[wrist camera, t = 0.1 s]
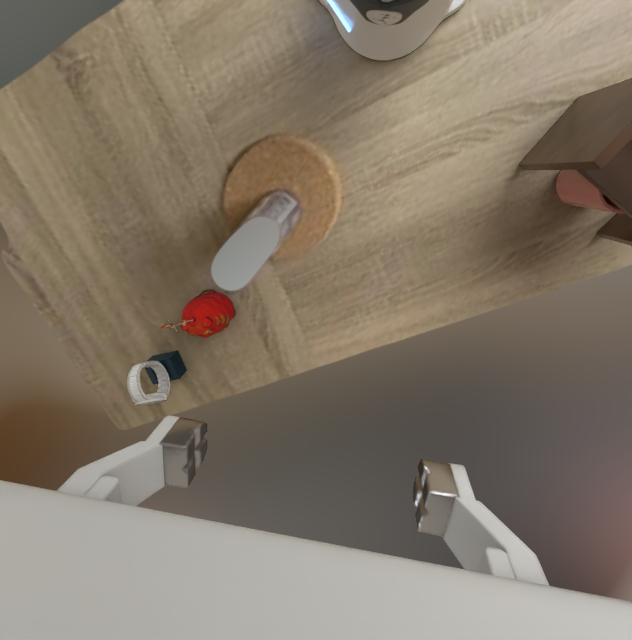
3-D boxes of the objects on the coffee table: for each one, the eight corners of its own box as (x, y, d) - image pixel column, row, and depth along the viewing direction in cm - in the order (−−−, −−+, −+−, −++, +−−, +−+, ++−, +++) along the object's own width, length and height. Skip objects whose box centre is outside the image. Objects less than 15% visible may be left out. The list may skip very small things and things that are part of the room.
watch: (165, 384, 73) (133, 419, 63) (148, 347, 71) (111, 377, 60) (191, 379, 72) (162, 413, 62) (174, 341, 69) (141, 371, 59)
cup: (565, 151, 51) (612, 147, 41) (617, 156, 50) (676, 153, 40) (548, 202, 53) (589, 209, 43) (597, 208, 53) (649, 216, 43)
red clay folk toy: (204, 329, 68) (162, 369, 54) (189, 292, 65) (141, 325, 52) (243, 319, 66) (210, 358, 52) (228, 281, 64) (189, 312, 50)
